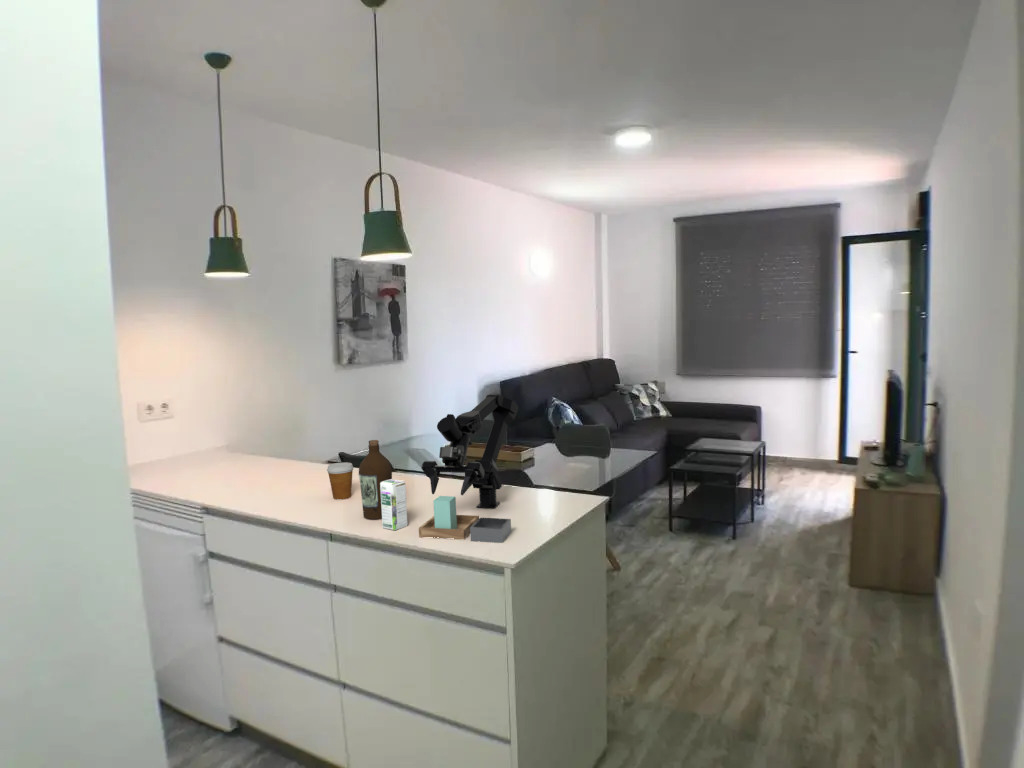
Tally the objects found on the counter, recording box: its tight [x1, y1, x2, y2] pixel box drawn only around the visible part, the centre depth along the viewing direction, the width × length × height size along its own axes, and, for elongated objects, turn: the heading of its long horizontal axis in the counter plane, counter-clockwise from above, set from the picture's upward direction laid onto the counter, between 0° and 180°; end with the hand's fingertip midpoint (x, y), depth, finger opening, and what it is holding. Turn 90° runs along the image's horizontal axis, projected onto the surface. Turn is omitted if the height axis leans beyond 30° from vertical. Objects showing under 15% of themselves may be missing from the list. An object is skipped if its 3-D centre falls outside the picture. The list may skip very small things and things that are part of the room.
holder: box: [469, 517, 512, 544], centre depth 195 cm, size 9×9×4 cm
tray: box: [418, 514, 480, 540], centre depth 202 cm, size 14×14×3 cm
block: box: [432, 495, 457, 529], centre depth 199 cm, size 5×5×10 cm
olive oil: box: [358, 439, 393, 521], centre depth 219 cm, size 11×11×25 cm
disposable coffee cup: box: [326, 462, 355, 500], centre depth 245 cm, size 10×10×12 cm
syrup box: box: [380, 478, 408, 531], centre depth 207 cm, size 6×6×14 cm
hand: (447, 494), depth 200 cm, fingers open, 9 cm apart
